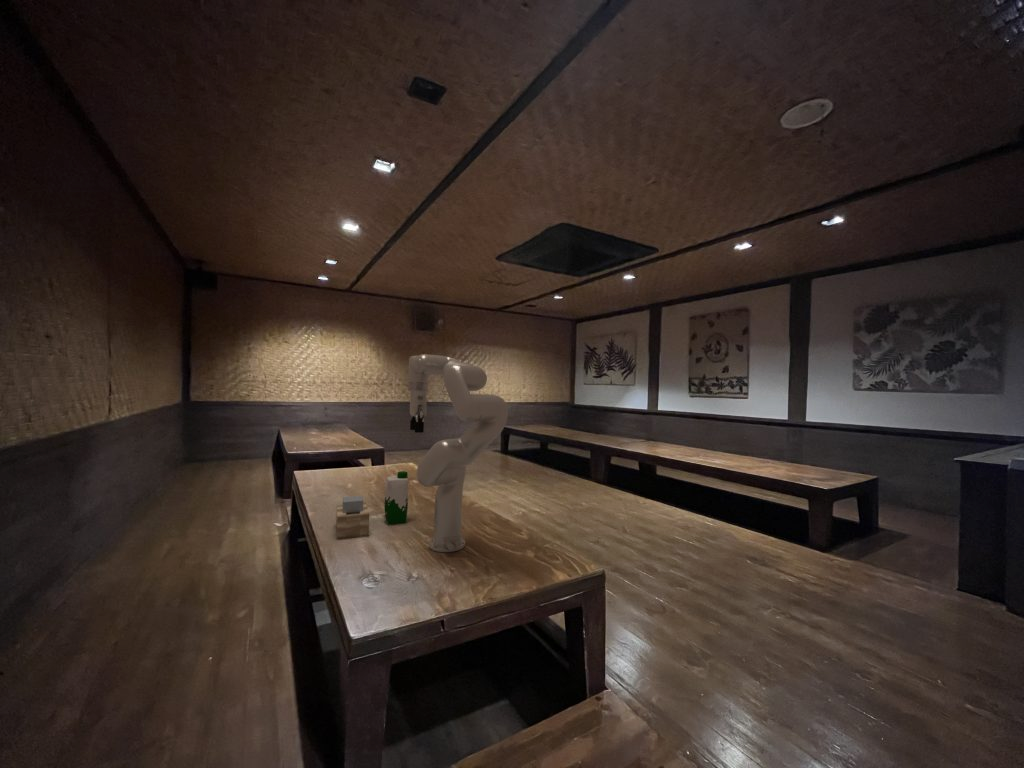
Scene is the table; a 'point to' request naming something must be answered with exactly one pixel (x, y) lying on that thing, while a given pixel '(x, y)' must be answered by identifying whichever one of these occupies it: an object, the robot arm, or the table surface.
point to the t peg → (352, 504)
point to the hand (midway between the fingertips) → (416, 431)
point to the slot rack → (352, 523)
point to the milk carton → (396, 498)
